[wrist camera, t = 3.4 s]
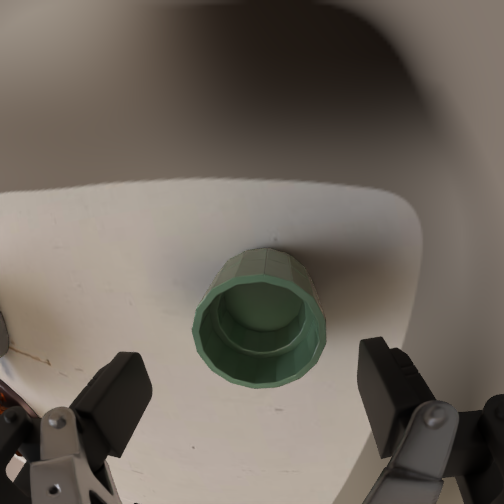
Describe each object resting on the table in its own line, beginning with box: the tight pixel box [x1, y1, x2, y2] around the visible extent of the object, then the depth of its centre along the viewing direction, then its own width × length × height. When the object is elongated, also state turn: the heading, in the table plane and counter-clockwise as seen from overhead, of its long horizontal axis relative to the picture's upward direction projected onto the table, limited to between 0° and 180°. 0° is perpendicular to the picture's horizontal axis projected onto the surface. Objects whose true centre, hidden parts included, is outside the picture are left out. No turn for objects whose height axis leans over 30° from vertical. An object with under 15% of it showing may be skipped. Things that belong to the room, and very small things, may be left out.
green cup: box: [192, 248, 326, 389], centre depth 15 cm, size 6×6×5 cm
